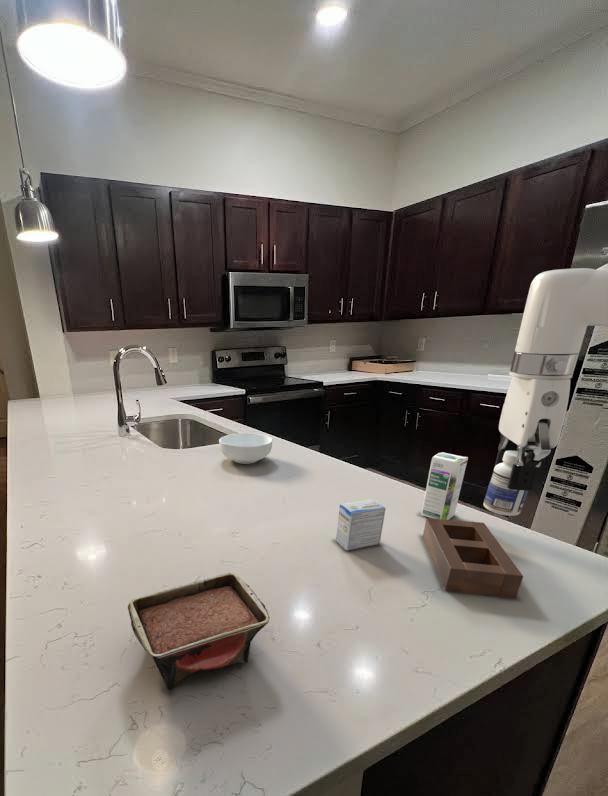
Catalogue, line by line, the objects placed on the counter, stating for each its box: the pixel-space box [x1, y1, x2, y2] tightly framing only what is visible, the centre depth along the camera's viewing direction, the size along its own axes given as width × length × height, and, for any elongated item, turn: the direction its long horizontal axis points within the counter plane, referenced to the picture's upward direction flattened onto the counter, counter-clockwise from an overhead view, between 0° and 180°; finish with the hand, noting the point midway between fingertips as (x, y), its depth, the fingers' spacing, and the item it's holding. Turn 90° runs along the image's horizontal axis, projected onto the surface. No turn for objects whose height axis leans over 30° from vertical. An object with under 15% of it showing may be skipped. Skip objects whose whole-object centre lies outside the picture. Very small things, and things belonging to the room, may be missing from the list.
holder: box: [422, 517, 524, 600], centre depth 78 cm, size 11×19×4 cm, turn 167°
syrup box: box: [420, 451, 469, 520], centre depth 95 cm, size 6×6×14 cm
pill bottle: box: [483, 450, 529, 517], centre depth 68 cm, size 5×5×10 cm
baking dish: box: [127, 572, 270, 691], centre depth 58 cm, size 14×18×10 cm
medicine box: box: [335, 498, 387, 551], centre depth 85 cm, size 8×4×9 cm, turn 108°
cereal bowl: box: [218, 432, 273, 465], centre depth 134 cm, size 17×17×7 cm
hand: (511, 481), depth 68 cm, fingers closed on pill bottle, 5 cm apart
